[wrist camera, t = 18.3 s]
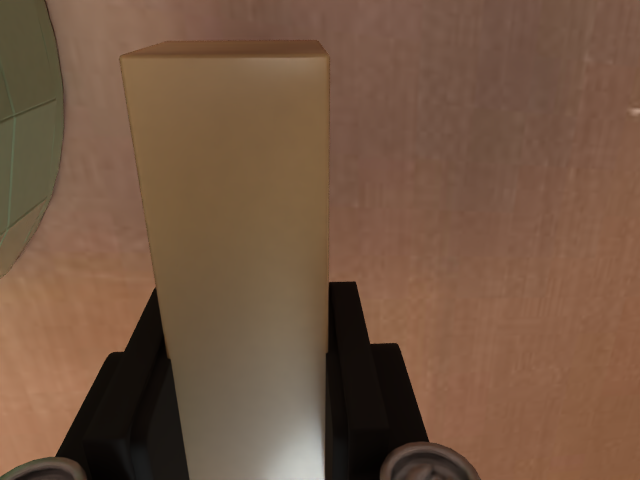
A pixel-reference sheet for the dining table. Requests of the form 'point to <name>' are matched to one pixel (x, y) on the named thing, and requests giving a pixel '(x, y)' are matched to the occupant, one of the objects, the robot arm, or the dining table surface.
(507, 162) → the dining table surface
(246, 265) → the stick
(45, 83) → the mixing bowl
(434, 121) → the dining table surface
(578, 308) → the dining table surface
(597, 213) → the dining table surface
